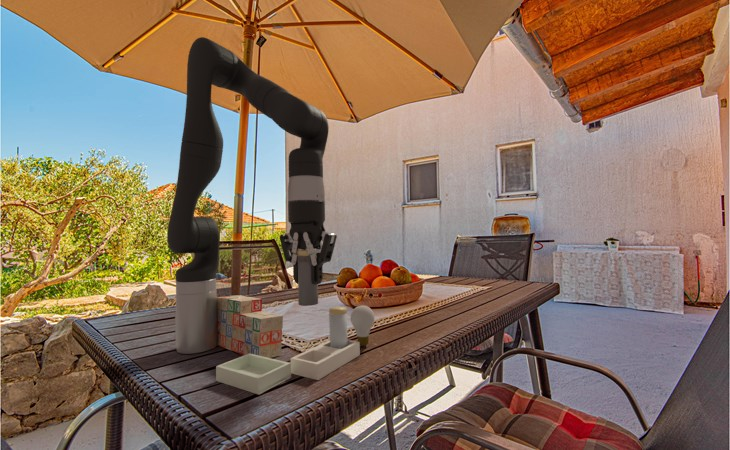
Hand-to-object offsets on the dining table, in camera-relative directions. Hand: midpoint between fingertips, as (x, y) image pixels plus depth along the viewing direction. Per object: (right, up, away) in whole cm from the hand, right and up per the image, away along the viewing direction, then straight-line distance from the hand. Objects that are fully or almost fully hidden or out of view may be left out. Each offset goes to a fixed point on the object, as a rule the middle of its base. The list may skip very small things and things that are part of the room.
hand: (308, 282), depth 70 cm
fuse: (+6, -18, +7) cm, 20 cm away
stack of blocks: (-18, -19, +14) cm, 30 cm away
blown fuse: (0, -4, 0) cm, 4 cm away
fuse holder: (+4, -18, +3) cm, 19 cm away
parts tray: (-10, -18, -4) cm, 21 cm away
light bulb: (+11, -18, +14) cm, 25 cm away
